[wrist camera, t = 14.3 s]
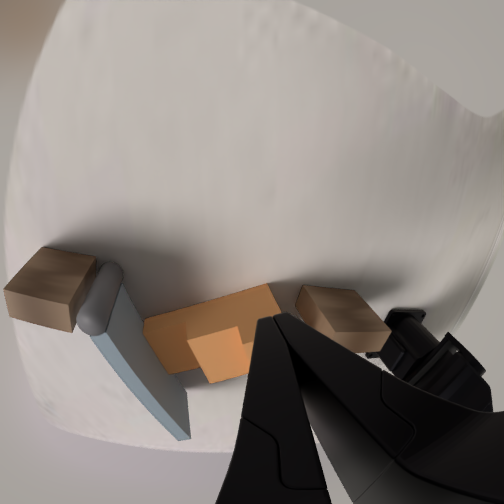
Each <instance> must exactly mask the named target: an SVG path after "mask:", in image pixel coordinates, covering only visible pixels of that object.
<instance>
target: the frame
mask: <svg viewBox="0 0 504 504" xmlns="http://www.w3.org/2000/svg"><path fill="white" fill-rule="evenodd" d="M95 278H96V256H90V255H84V254H78V253H72V252H66V251H61V250H55V249H50V248H44V247H41V248H40V249H39V250H38V251H37V253H36V254H35V255H34V256H33V257H32V258H31V259H30V260H29V261H28V262H27V263H26V264H25V265H24V266H23V267H22V268H21V269H20V271H19V272H18V273H17V274H16V275H15V276H14V277H13V278H12V280H11V281H10V282H9V283H8V284H7V285H6V287H5V288H4V289H3V290H4V295H5V299H6V304H7V308H8V312H9V316H10V317H12V318H16V319H19V320H23V321H26V322H30V323H33V324H37V325H41V326H45V327H49V328H53V329H57V330H61V331H65V332H70V333H72V332H73V330H74V327H75V325H76V323H77V322H76V318H77V315H78V313H79V310H80V308H81V306H82V304H83V302H84V300H85V298H86V296H87V294H88V292H89V290H90V288H91V286H92V284H93V282H94V280H95ZM295 306H296V308H297V310H298V312H299V313H300V315H301V317H302V318H303V320H304V322H305V323H306V324H308V325H309V326H311V327H312V328H314V329H316V330H317V331H319V332H321V333H322V334H324V335H326V336H327V337H329V338H330V339H332V340H334V341H335V342H337V343H339V344H340V345H342V346H344V347H345V348H347V349H349V350H350V351H352V352H354V353H364V352H376V351H380V350H381V349H382V347H383V345H384V344H385V342H386V340H387V339H388V337H389V335H390V333H391V332H392V331H391V330H390V329H389V327H388V326H387V325H386V324H385V323H384V322H383V321H382V320H381V318H380V317H379V316H378V315H377V314H376V313H375V312H374V311H373V310H372V308H371V307H370V306H369V305H368V304H367V303H366V302H365V301H364V300H363V299H362V298H361V297H360V295H359V294H358V293H357V292H356V291H355V290H345V289H335V288H326V287H316V286H307V285H303V286H302V289H301V291H300V294H299V297H298V299H297V302H296V304H295Z"/></svg>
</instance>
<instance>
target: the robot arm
mask: <svg viewBox="0 0 504 504" xmlns="http://www.w3.org/2000/svg"><path fill="white" fill-rule="evenodd" d="M425 315H426V312H425V311H423V310H391V311H390V312H389V313H388V315H387V317H386V319H385V321H384V323H385V324H386V325H387V326H388V327H389V329H390V330H391V331H392V332H391V333H390V335H389V337H388V339H387V340H386V342H385V344H384V345H383V347H382V349H381V350H380V351H376V352H366V354H365V356H366V357H367V358H368V359H369V358H380V359H381V360H382V362H383V363H384V364H385V366H386V367H387V368H388V370H389V371H391V372H392V373H393V374H394V376H393V375H392V374H390V373H388V372H386V371H385V370H383V371H382V369H381V368H379V367H378V366H376V365H374V364H372V363H371V362H369V361H367V360H366V359H364V358H362V357H361V356H359V355H357V354H355V353H354V352H352V351H350V350H349V349H347V348H345V347H344V346H342V345H340V344H339V343H337V342H335V341H334V340H332V339H330V338H329V337H327V336H326V335H324V334H322V333H321V332H319V331H317V330H316V329H314V328H312V327H311V326H309V325H308V324H306V323H304V322H303V321H301V320H300V319H298V318H296V317H295V316H293V315H292V314H290V313H288V312H283V313H279V314H275V315H273V317H272V316H267V317H264V318H260V319H258V320H257V324H256V330H255V337H254V343H253V349H252V355H251V361H250V367H249V373H248V379H247V385H246V391H245V397H244V402H243V408H242V414H241V419H240V424H239V430H238V435H237V439H236V444H235V448H234V452H233V455H232V459H231V462H230V465H229V468H228V471H227V474H226V477H225V479H224V482H223V485H222V487H221V490H220V492H219V495H218V498H217V500H216V503H215V504H332V503H331V499H330V496H329V492H328V490H327V485H326V481H325V477H324V474H323V470H322V466H321V462H320V459H319V455H318V451H317V448H316V444H315V441H314V437H313V433H312V430H311V427H312V428H313V430H314V432H315V434H316V436H317V438H318V440H319V442H320V444H321V445H322V447H323V449H324V451H325V453H326V455H327V457H328V459H329V460H330V462H331V464H332V466H333V468H334V470H335V472H336V473H337V475H338V477H339V479H340V481H341V483H342V484H343V486H344V488H345V490H346V492H347V493H348V495H349V497H350V499H351V500H352V502H353V504H504V411H501V412H493V406H492V397H491V389H490V386H489V385H488V384H487V383H486V381H485V380H484V379H483V378H482V377H481V376H482V375H483V374H484V373H485V372H486V370H485V369H484V367H483V366H482V365H481V364H480V363H479V362H478V360H476V359H475V357H474V356H473V355H472V354H471V353H470V352H469V351H468V350H467V349H466V348H465V347H464V346H463V345H462V344H461V343H460V342H459V341H457V340H456V339H455V338H454V337H453V336H452V335H451V334H450V333H449V332H447V333H446V335H445V337H444V338H443V339H442V341H441V342H439V341H438V340H437V339H436V338H435V337H434V336H433V335H432V334H431V333H430V332H429V331H428V330H427V329H426V328H425V327H424V326H423V325H422V324H421V323H422V321H423V319H424V317H425ZM456 351H458V352H456ZM310 425H311V426H310Z"/></svg>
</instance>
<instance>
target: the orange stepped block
mask: <svg viewBox="0 0 504 504" xmlns="http://www.w3.org/2000/svg"><path fill="white" fill-rule="evenodd" d="M279 313H281V311H280V309H279V307H278V305H277V303H276V301H275V299H274V297H273V295H272V293H271V291H270V289H269V287H268V285H267V283H266V284H263V285H260V286H256V287H253V288H250V289H247V290H243V291H240V292H237V293H234V294H230V295H227V296H223V297H220V298H217V299H213V300H210V301H207V302H203V303H200V304H196V305H193V306H189V307H186V308H182V309H179V310H175V311H171V312H168V313H164V314H161V315H157V316H153V317H149V318H146V319H145V321H144V327H143V335H144V336H145V338H146V340H147V341H148V343H149V345H150V346H151V348H152V349H153V351H154V353H155V354H156V356H157V357H158V359H159V361H160V362H161V364H162V365H163V367H164V368H165V370H166V371H167V373H168V374H169V375H170V374H175V373H179V372H183V371H188V370H192V369H196V368H200V367H201V368H202V370H203V372H204V373H205V375H206V377H207V379H208V381H209V382H210V384H211V383H215V382H219V381H223V380H226V379H230V378H234V377H237V376H241V375H244V374H248V373H249V367H250V361H251V355H252V349H253V343H254V337H255V330H256V324H257V320H258V319H260V318H264V317H267V316H272V317H273V315H275V314H279Z"/></svg>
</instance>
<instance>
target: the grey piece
mask: <svg viewBox="0 0 504 504" xmlns="http://www.w3.org/2000/svg"><path fill="white" fill-rule="evenodd" d="M122 279H123V270H122V268H121V267H120V266H119V265H118V264H117V263H115V262H106V263H104V264H103V265H102V266H101V268H100V270H99V272H98V274H97V276H96V278H95V280H94V282H93V284H92V286H91V288H90V290H89V292H88V294H87V296H86V298H85V300H84V302H83V304H82V306H81V308H80V310H79V313H78V315H77V318H76V322H77V325H78V327H79V328H80V329H81V330H82V331H83V332H84V333H86V334H88V335H90V338H91V339H92V341H93V342H94V344H95V345H96V346H97V348H98V349H99V351H100V352H101V353H102V355H103V356H104V357H105V359H106V360H107V361H108V363H109V364H110V365H111V367H112V368H113V369H114V371H115V372H116V373H117V374H118V376H119V377H120V378H121V379H122V381H123V382H124V383H125V384H126V386H127V387H128V388H129V389H130V390H131V392H132V393H133V394H134V395H135V396H136V397H137V399H138V400H139V401H140V402H141V403H142V404H143V405H144V406H145V407H146V409H147V410H148V411H149V412H150V413H151V414H152V415H153V416H154V417H155V418H156V419H157V420H158V421H159V422H160V423H161V424H162V425H163V426H164V427H165V428H166V429H167V430H168V431H169V432H170V433H171V434H172V435H173V436H174V437H175V438H176V439H177V440H178V441H182V440H188V439H191V433H190V423H189V412H188V400H187V392H186V391H185V389H184V388H183V386H182V385H181V383H180V382H179V380H178V379H177V377H176V376H175V374H170V375H169V374H168V373H167V371H166V370H165V368H164V367H163V365H162V364H161V362H160V361H159V359H158V357H157V356H156V354H155V353H154V351H153V349H152V348H151V346H150V345H149V343H148V341H147V340H146V338H145V336H144V335H143V327H144V323H143V322H142V320H141V318H140V316H139V314H138V312H137V311H136V309H135V307H134V305H133V303H132V301H131V299H130V297H129V295H128V293H127V291H126V289H125V287H124V285H123V283H121V282H122Z"/></svg>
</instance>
